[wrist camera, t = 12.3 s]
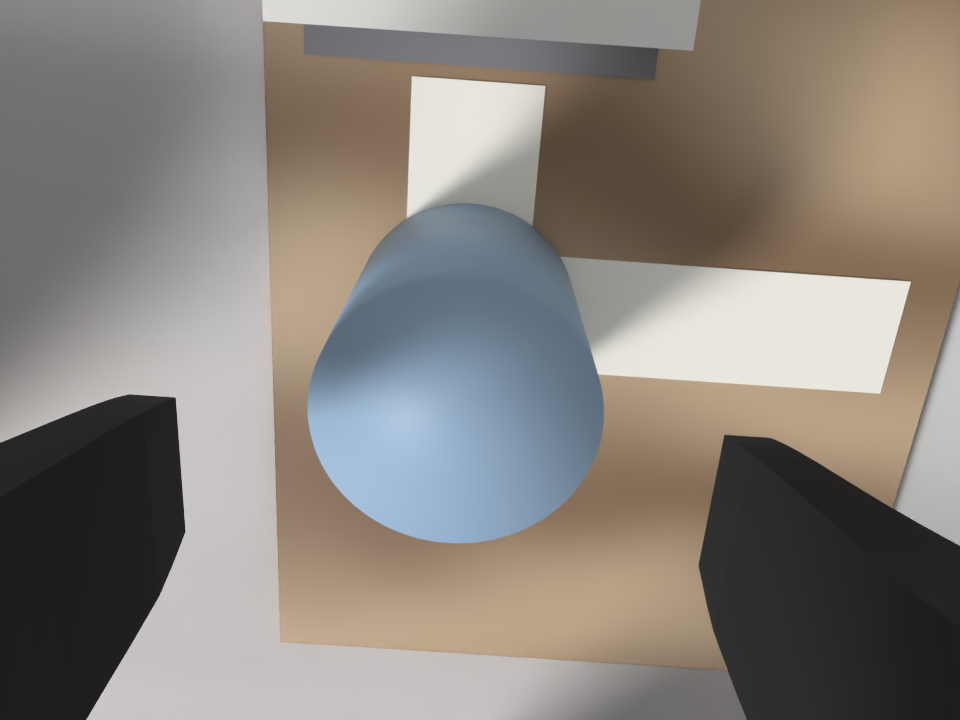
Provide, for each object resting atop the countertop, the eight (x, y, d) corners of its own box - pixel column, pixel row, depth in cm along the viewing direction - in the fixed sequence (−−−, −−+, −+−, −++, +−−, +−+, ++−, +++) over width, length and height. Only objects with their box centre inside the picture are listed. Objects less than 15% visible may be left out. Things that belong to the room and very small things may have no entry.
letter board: (837, 668, 21) (842, 679, 21) (283, 633, 21) (280, 643, 21) (1193, -543, 12) (1211, -557, 12) (250, -621, 12) (243, -639, 12)
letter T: (844, 520, 19) (844, 522, 19) (397, 491, 19) (397, 493, 19) (954, 115, 16) (956, 115, 16) (412, 75, 16) (411, 75, 16)
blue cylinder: (567, 411, 18) (593, 546, 14) (360, 406, 18) (315, 540, 14) (581, 205, 16) (615, 279, 12) (352, 201, 17) (297, 272, 12)
